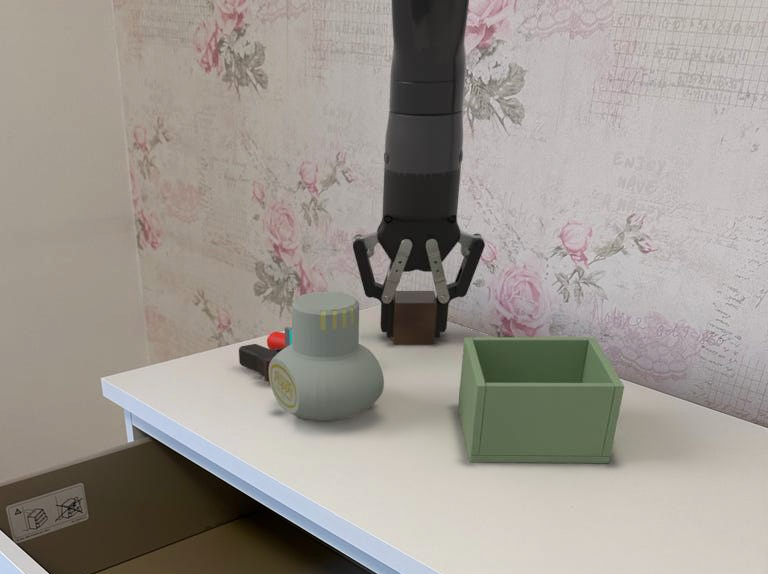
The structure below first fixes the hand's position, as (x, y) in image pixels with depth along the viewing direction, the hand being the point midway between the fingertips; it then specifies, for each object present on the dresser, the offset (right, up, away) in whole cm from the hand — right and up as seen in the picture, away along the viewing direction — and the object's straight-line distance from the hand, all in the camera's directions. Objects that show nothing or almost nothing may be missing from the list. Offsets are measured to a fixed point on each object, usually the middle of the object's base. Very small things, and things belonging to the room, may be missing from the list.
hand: (412, 334), depth 103 cm
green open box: (+8, -15, -20) cm, 27 cm away
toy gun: (-12, -5, -5) cm, 14 cm away
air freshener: (-10, -12, -15) cm, 22 cm away
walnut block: (0, 0, 0) cm, 0 cm away
